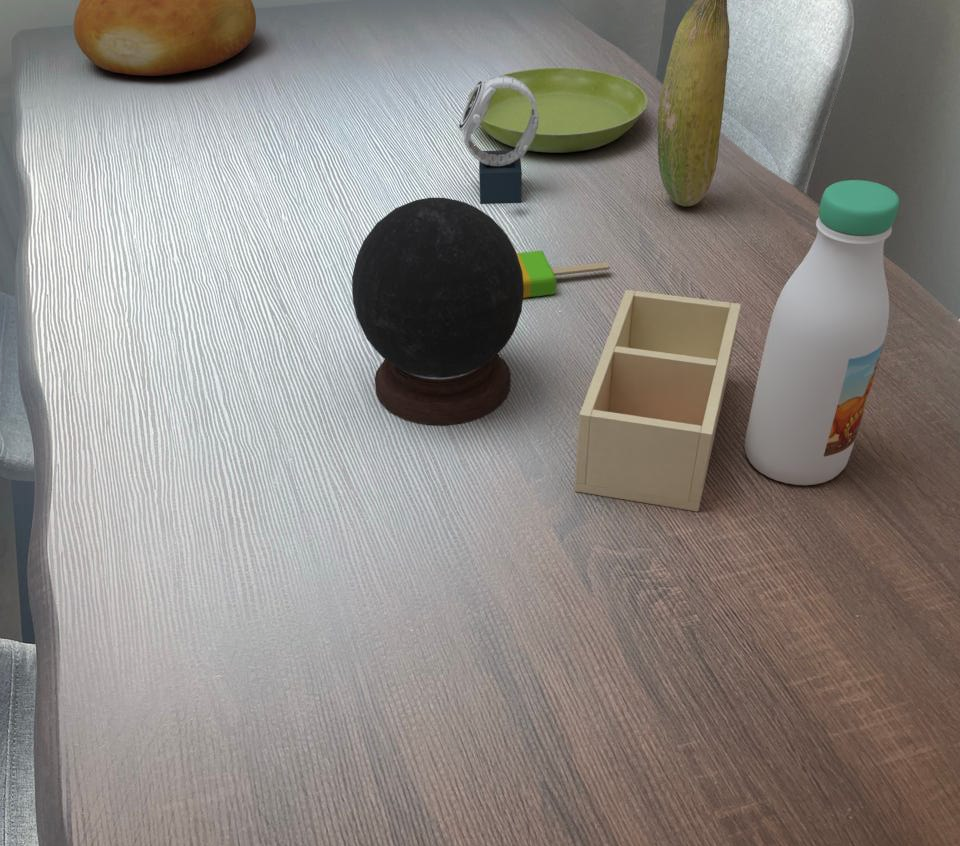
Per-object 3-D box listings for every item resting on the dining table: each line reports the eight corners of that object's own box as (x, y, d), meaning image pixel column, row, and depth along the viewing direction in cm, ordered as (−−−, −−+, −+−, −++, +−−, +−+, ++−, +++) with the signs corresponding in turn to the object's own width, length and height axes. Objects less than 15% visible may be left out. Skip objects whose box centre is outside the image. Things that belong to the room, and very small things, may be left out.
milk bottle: (781, 500, 74) (849, 232, 59) (723, 441, 79) (772, 180, 64) (868, 471, 76) (955, 206, 61) (806, 416, 81) (873, 157, 66)
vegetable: (703, 223, 103) (736, -2, 88) (642, 215, 105) (664, -8, 90) (714, 197, 107) (747, -23, 92) (655, 190, 108) (678, -28, 94)
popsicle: (447, 277, 97) (446, 258, 95) (600, 261, 99) (602, 241, 97) (457, 307, 93) (456, 288, 92) (616, 289, 95) (618, 270, 93)
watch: (461, 181, 111) (457, 70, 103) (535, 179, 111) (537, 68, 103) (461, 204, 107) (457, 91, 99) (538, 202, 107) (540, 89, 99)
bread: (98, 31, 146) (76, -51, 139) (263, 22, 147) (250, -60, 140) (73, 91, 131) (47, 2, 123) (257, 80, 132) (242, -9, 125)
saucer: (681, 134, 118) (685, 104, 116) (537, 180, 111) (538, 150, 108) (571, 81, 130) (572, 53, 127) (434, 120, 122) (433, 91, 120)
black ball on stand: (490, 446, 79) (488, 262, 68) (336, 414, 82) (310, 233, 71) (543, 357, 87) (548, 180, 76) (401, 331, 91) (386, 157, 79)
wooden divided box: (727, 378, 85) (741, 303, 80) (698, 512, 73) (712, 434, 68) (618, 363, 86) (625, 289, 81) (574, 491, 75) (579, 414, 70)
